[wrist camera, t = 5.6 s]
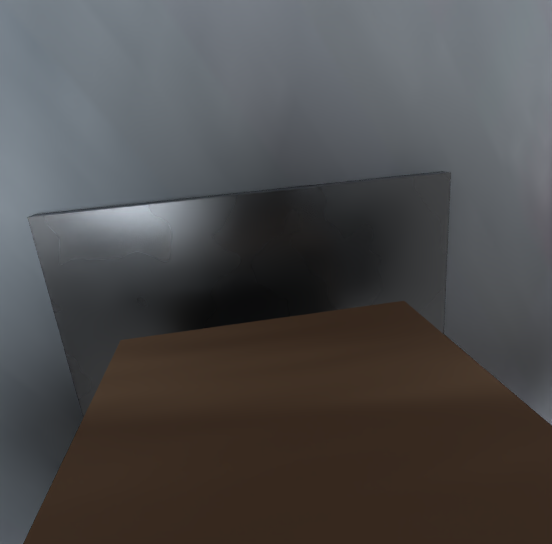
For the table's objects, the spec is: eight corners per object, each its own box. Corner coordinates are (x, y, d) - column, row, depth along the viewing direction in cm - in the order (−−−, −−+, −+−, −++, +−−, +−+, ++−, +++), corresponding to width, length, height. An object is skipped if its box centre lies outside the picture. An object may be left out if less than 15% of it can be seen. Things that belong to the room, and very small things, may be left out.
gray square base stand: (430, 478, 14) (628, 791, 7) (122, 535, 13) (21, 963, 6) (442, 171, 11) (816, 222, 4) (35, 214, 10) (-371, 379, 3)
